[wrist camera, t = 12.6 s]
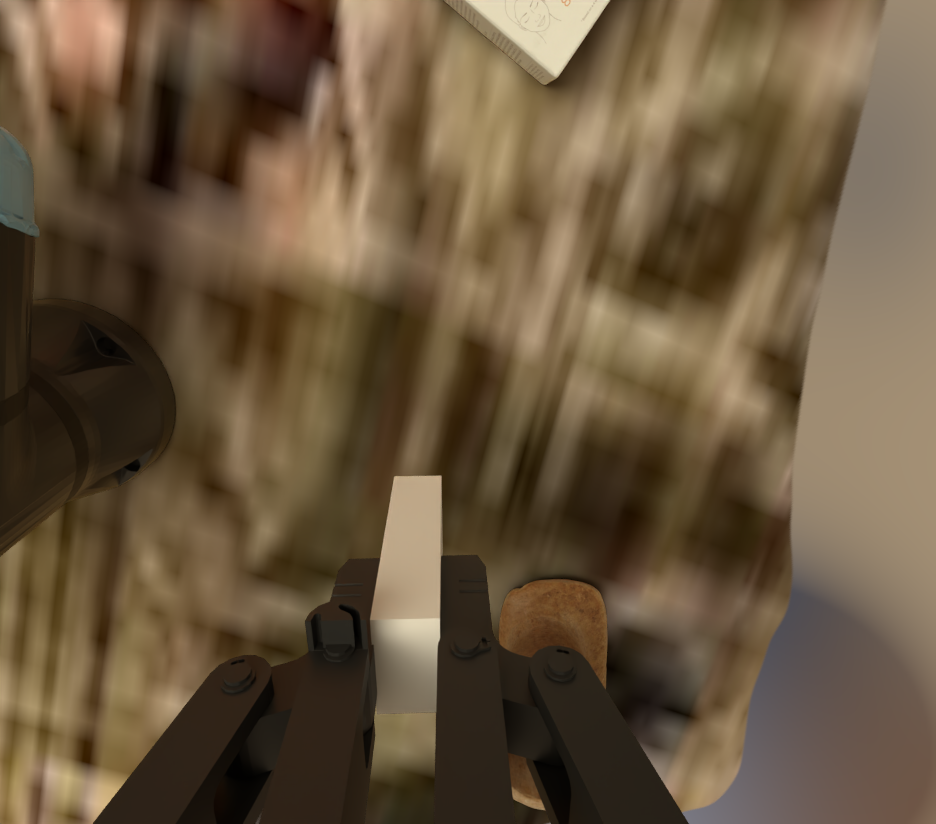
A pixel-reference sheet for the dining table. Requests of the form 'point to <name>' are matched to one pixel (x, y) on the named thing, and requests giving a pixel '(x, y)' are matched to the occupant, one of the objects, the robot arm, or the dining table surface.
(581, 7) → the small box
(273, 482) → the dining table surface
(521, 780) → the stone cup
